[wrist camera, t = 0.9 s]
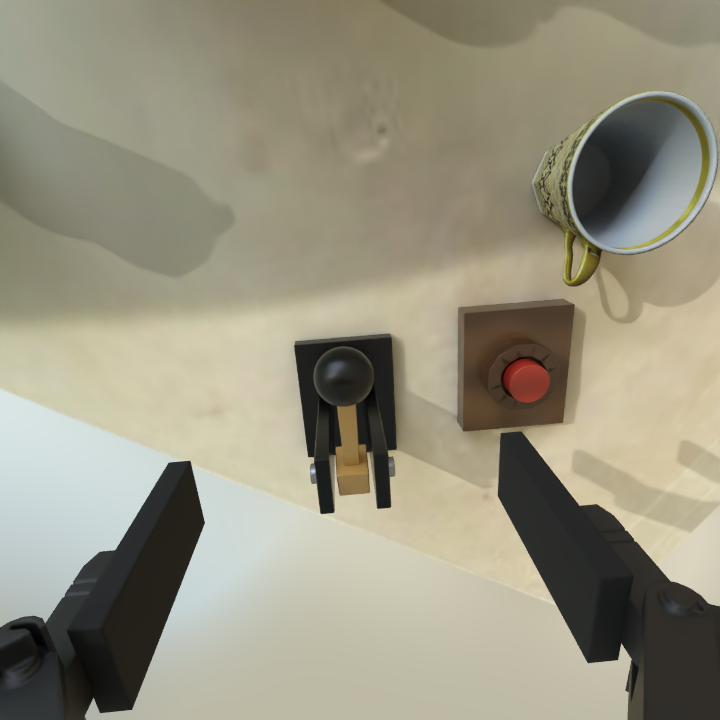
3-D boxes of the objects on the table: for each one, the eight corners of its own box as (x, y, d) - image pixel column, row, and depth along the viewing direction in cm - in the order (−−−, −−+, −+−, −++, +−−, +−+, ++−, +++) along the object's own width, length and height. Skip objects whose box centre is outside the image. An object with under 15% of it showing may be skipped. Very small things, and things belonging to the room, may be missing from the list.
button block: (458, 307, 42) (470, 318, 39) (563, 298, 43) (585, 309, 39) (457, 421, 47) (468, 441, 43) (553, 412, 47) (572, 432, 43)
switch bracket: (295, 341, 43) (276, 412, 29) (390, 333, 43) (416, 400, 29) (308, 451, 47) (298, 559, 33) (395, 443, 47) (420, 548, 33)
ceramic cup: (545, 96, 37) (618, 63, 27) (648, 143, 38) (750, 127, 29) (478, 250, 41) (521, 267, 31) (574, 287, 42) (642, 313, 33)
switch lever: (310, 336, 26) (310, 381, 23) (370, 331, 26) (376, 375, 23) (330, 462, 35) (331, 503, 33) (374, 458, 35) (378, 499, 33)
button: (503, 359, 41) (510, 366, 39) (543, 356, 41) (551, 363, 39) (501, 396, 42) (508, 404, 40) (540, 393, 42) (548, 401, 40)
